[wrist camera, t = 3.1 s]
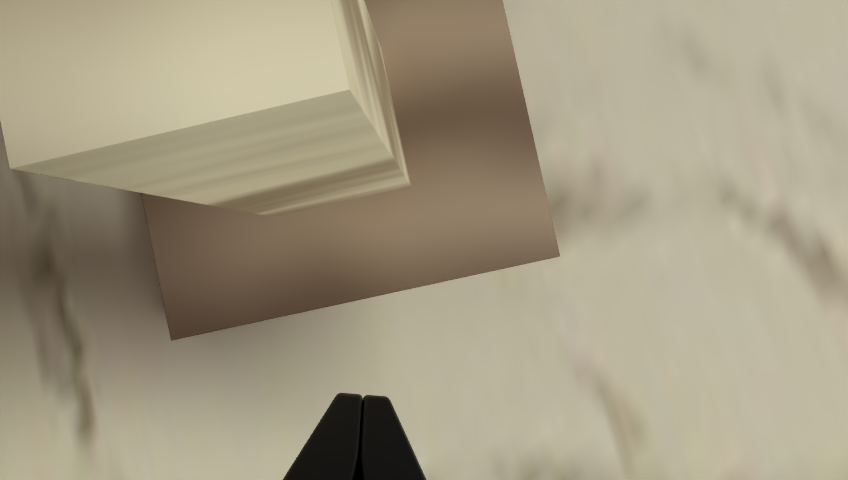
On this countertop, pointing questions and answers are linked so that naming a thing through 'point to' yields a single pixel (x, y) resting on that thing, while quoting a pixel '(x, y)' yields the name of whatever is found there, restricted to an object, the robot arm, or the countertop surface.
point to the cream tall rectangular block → (202, 99)
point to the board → (389, 211)
